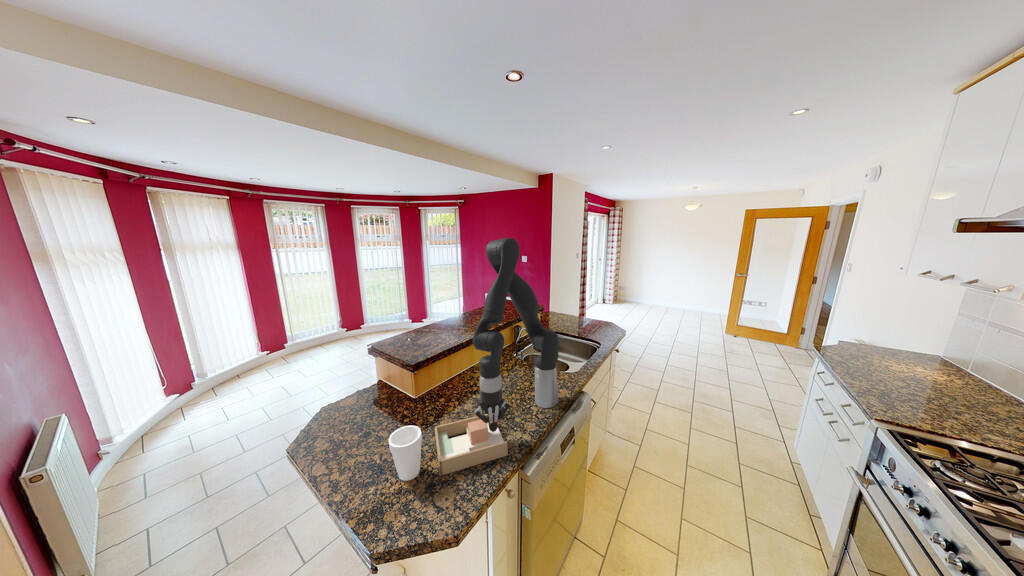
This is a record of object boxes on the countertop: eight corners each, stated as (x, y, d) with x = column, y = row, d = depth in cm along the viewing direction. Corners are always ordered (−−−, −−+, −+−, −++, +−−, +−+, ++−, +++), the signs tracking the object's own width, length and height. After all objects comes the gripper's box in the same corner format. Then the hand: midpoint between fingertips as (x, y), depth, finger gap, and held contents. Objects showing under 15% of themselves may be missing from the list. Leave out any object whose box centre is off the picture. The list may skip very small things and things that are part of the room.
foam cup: (399, 461, 92) (394, 426, 89) (427, 459, 92) (424, 424, 90) (388, 486, 83) (383, 448, 80) (420, 484, 83) (416, 446, 81)
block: (484, 430, 101) (484, 418, 100) (488, 440, 97) (487, 427, 96) (468, 435, 99) (467, 422, 98) (471, 444, 95) (470, 431, 94)
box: (493, 423, 109) (493, 412, 108) (507, 455, 93) (507, 442, 92) (435, 438, 102) (434, 426, 101) (440, 475, 86) (439, 461, 85)
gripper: (505, 376, 101) (507, 419, 105) (469, 384, 97) (472, 428, 100) (512, 387, 95) (514, 432, 98) (474, 395, 90) (477, 442, 94)
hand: (493, 430), depth 99 cm, fingers closed
